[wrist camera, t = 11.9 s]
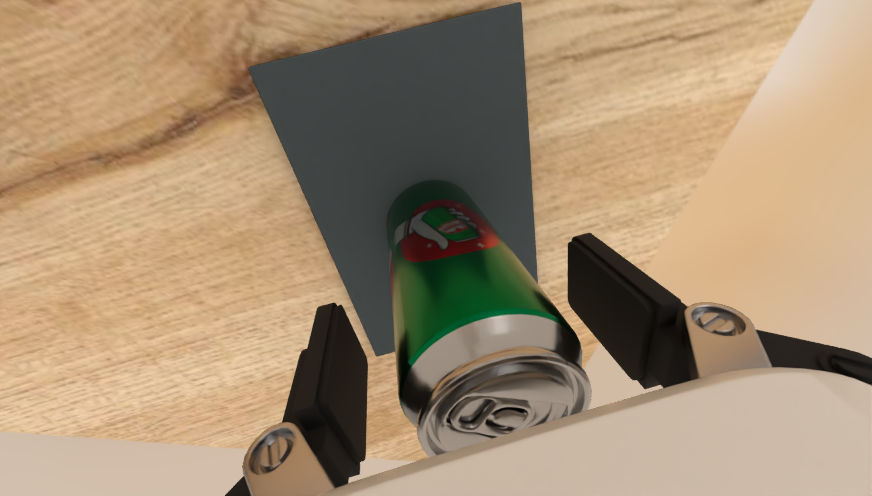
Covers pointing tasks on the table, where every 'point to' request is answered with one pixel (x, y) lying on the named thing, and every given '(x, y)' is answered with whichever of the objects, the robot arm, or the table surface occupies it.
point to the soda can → (472, 326)
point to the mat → (406, 138)
